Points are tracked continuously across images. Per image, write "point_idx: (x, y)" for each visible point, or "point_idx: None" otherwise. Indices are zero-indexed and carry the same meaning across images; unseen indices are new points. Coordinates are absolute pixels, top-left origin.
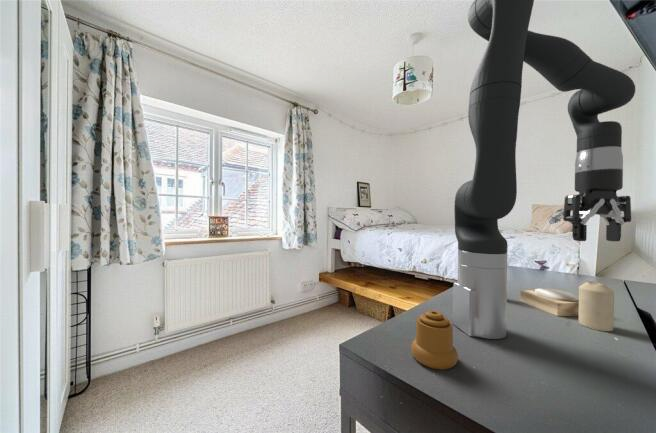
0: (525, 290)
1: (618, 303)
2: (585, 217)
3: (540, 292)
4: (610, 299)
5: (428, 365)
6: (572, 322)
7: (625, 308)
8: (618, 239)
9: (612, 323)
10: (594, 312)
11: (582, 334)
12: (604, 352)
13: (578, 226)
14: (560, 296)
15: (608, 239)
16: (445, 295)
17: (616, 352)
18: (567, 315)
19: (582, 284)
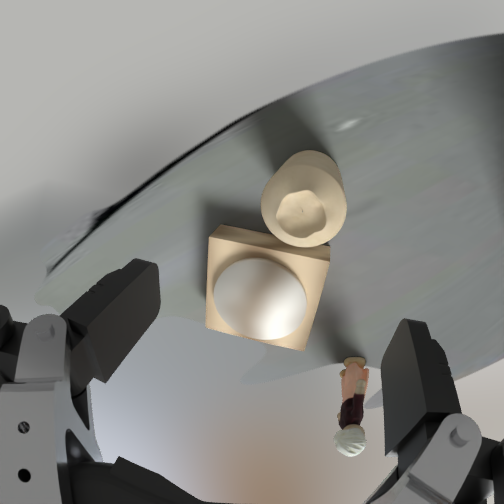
0: (291, 347)
1: (98, 255)
2: (453, 473)
3: (296, 319)
4: (311, 161)
5: None
6: None
7: (113, 234)
8: (144, 263)
9: (305, 152)
10: (340, 176)
11: (398, 160)
12: (448, 101)
13: (459, 412)
14: (281, 283)
15: (156, 306)
16: None
17: (426, 91)
18: None
19: (315, 241)
